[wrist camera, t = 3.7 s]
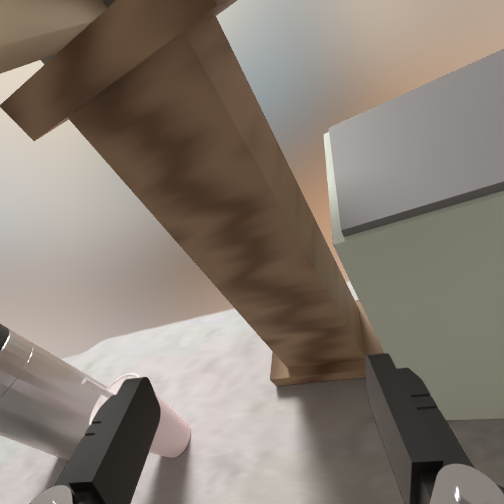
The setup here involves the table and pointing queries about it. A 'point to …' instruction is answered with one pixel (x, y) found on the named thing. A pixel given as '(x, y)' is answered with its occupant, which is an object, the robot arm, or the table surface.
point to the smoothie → (170, 426)
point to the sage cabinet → (430, 231)
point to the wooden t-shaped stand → (206, 173)
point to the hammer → (42, 28)
